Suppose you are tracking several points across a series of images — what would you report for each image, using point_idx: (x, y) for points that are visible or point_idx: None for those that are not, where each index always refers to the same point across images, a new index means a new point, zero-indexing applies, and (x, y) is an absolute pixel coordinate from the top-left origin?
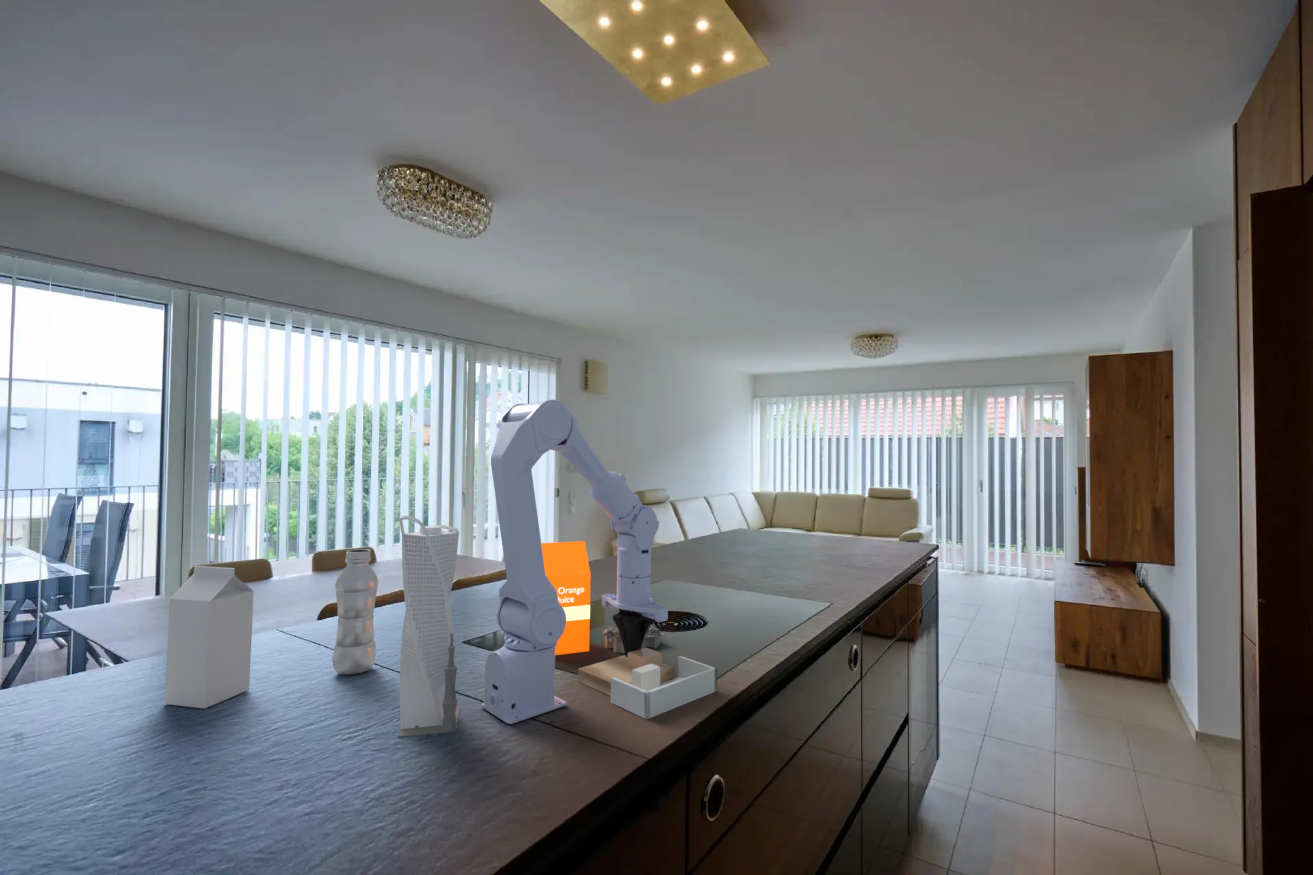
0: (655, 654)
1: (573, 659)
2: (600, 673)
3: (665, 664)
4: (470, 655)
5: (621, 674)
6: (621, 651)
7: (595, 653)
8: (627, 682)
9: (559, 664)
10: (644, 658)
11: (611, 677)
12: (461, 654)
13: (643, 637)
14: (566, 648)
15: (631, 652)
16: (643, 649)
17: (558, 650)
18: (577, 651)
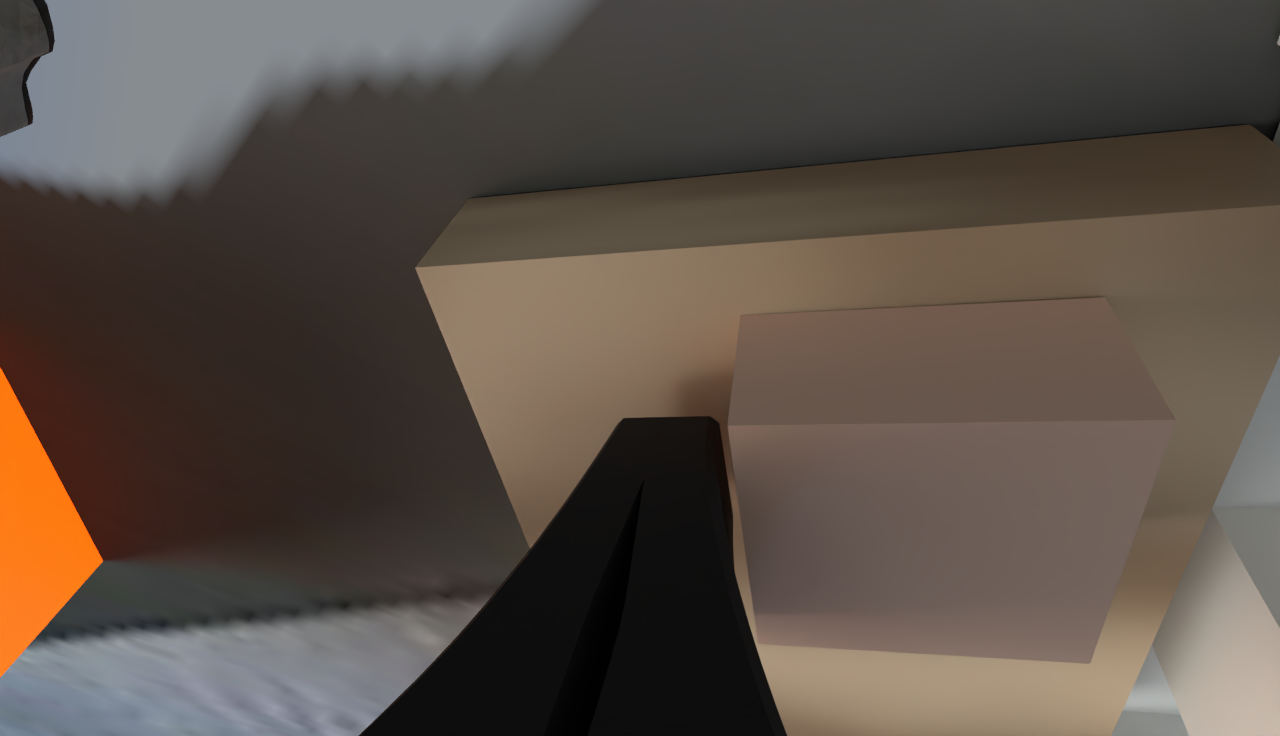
0: (1116, 512)
1: (191, 482)
2: (787, 712)
3: (1122, 226)
4: (58, 711)
5: (928, 661)
6: (15, 71)
7: (49, 299)
8: (1108, 717)
9: (278, 573)
10: (1087, 657)
11: (916, 715)
12: (41, 720)
13: (750, 628)
14: (12, 484)
15: (782, 621)
16: (783, 483)
17: (42, 518)
18: (3, 390)
